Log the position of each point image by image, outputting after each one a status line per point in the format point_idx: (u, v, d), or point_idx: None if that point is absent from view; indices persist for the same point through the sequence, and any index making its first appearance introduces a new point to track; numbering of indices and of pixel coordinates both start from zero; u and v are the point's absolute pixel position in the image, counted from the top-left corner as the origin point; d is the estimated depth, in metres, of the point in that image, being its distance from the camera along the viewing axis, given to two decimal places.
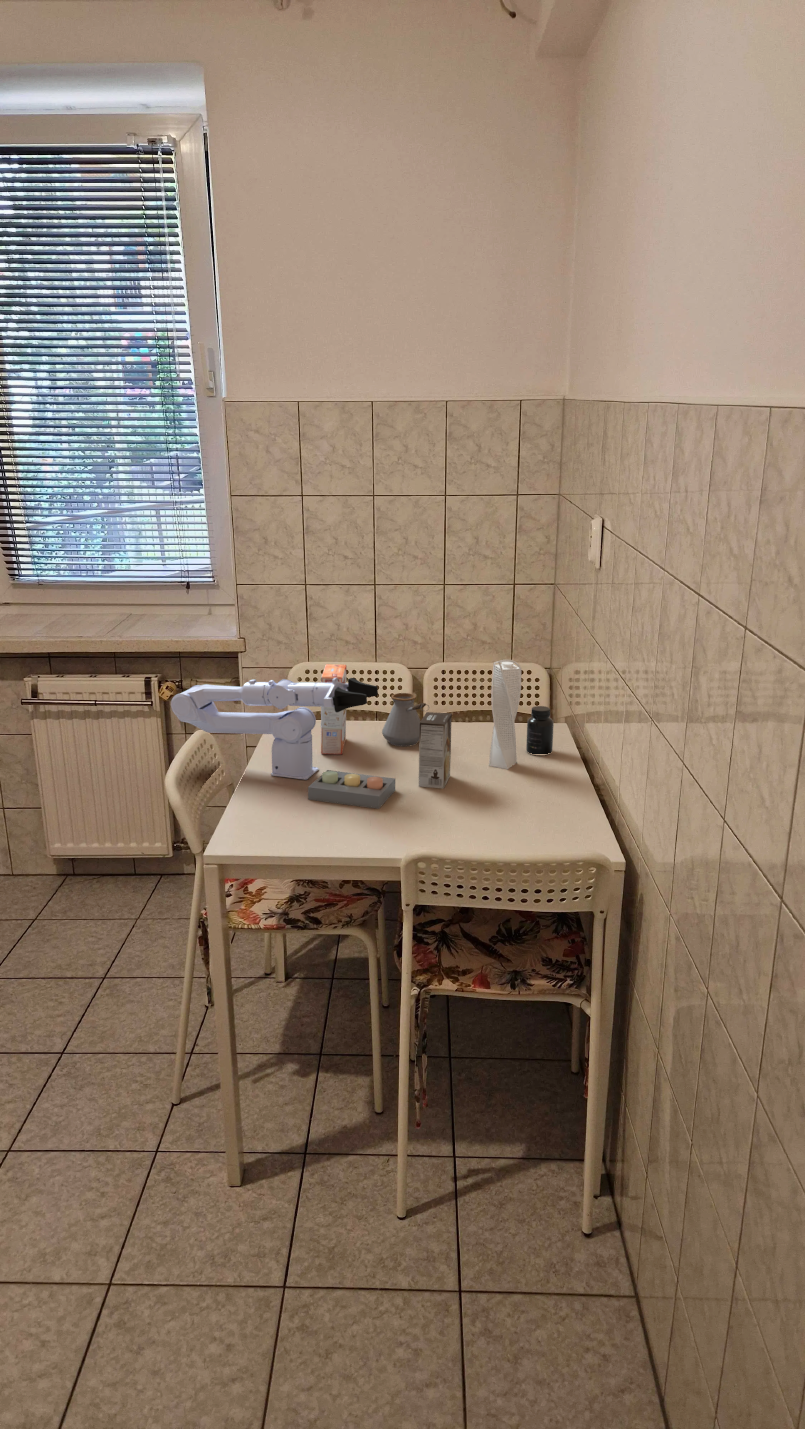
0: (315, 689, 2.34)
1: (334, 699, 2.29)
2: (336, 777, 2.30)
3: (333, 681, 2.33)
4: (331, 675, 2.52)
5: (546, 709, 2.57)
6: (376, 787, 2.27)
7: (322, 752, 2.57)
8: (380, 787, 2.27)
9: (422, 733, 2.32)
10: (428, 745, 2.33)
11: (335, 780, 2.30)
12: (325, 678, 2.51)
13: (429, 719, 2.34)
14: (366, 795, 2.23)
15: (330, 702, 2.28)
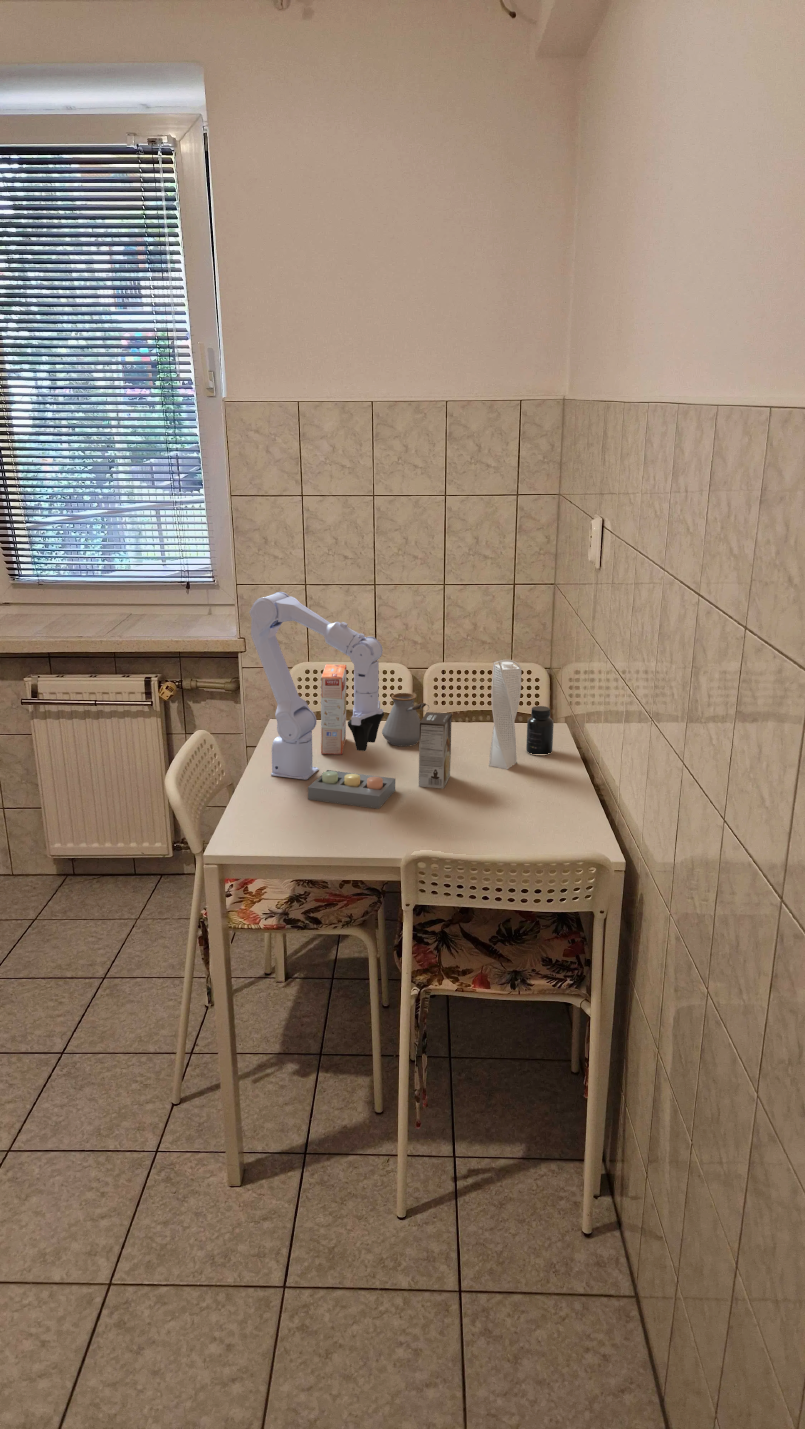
0: (370, 695, 2.29)
1: (360, 724, 2.28)
2: (336, 777, 2.30)
3: (378, 712, 2.31)
4: (331, 675, 2.52)
5: (546, 709, 2.57)
6: (376, 787, 2.27)
7: (322, 752, 2.57)
8: (380, 787, 2.27)
9: (422, 733, 2.32)
10: (428, 745, 2.33)
11: (335, 780, 2.30)
12: (325, 678, 2.51)
13: (429, 719, 2.34)
14: (366, 795, 2.23)
15: (355, 724, 2.26)
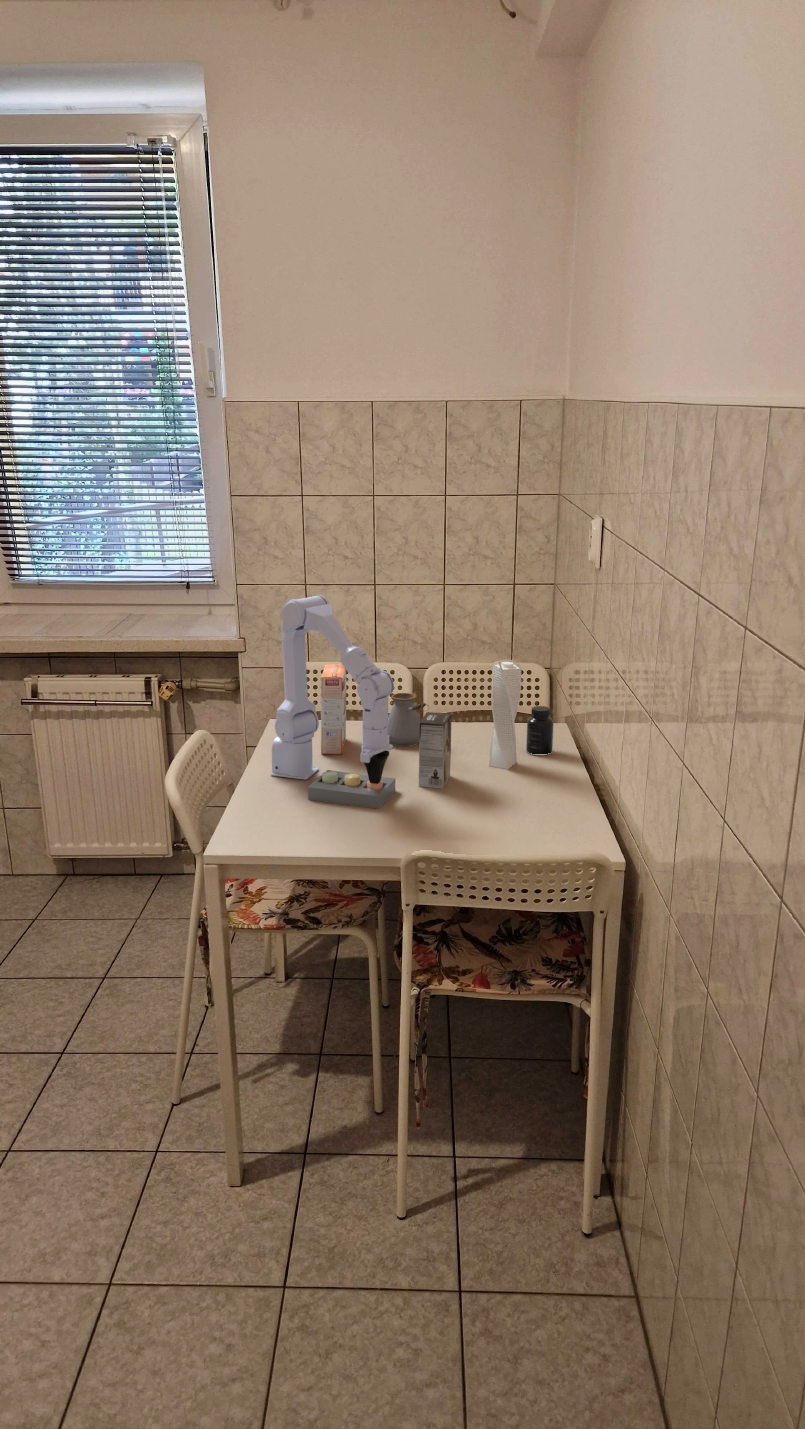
0: (379, 731, 2.22)
1: (373, 757, 2.24)
2: (336, 777, 2.30)
3: (388, 748, 2.24)
4: (331, 675, 2.52)
5: (546, 709, 2.57)
6: None
7: (322, 752, 2.57)
8: None
9: (422, 733, 2.32)
10: (428, 745, 2.33)
11: (335, 780, 2.30)
12: (325, 678, 2.51)
13: (429, 719, 2.34)
14: (366, 795, 2.23)
15: (364, 761, 2.19)
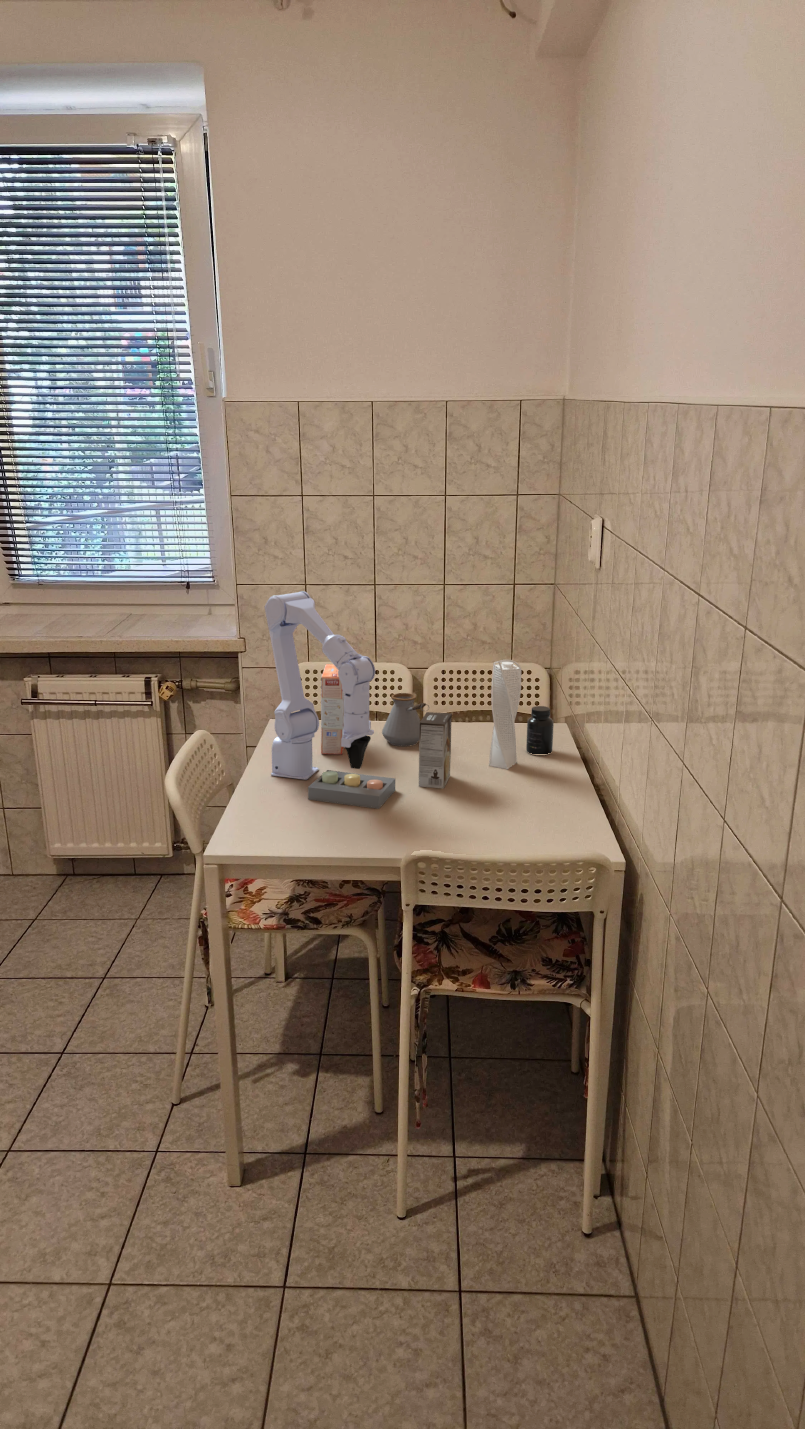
0: (360, 716, 2.22)
1: (354, 742, 2.24)
2: (336, 777, 2.30)
3: (369, 733, 2.24)
4: (331, 675, 2.52)
5: (546, 709, 2.57)
6: None
7: (322, 752, 2.57)
8: None
9: (422, 733, 2.32)
10: (428, 745, 2.33)
11: (335, 780, 2.30)
12: (325, 678, 2.51)
13: (429, 719, 2.34)
14: (366, 795, 2.23)
15: (345, 746, 2.20)
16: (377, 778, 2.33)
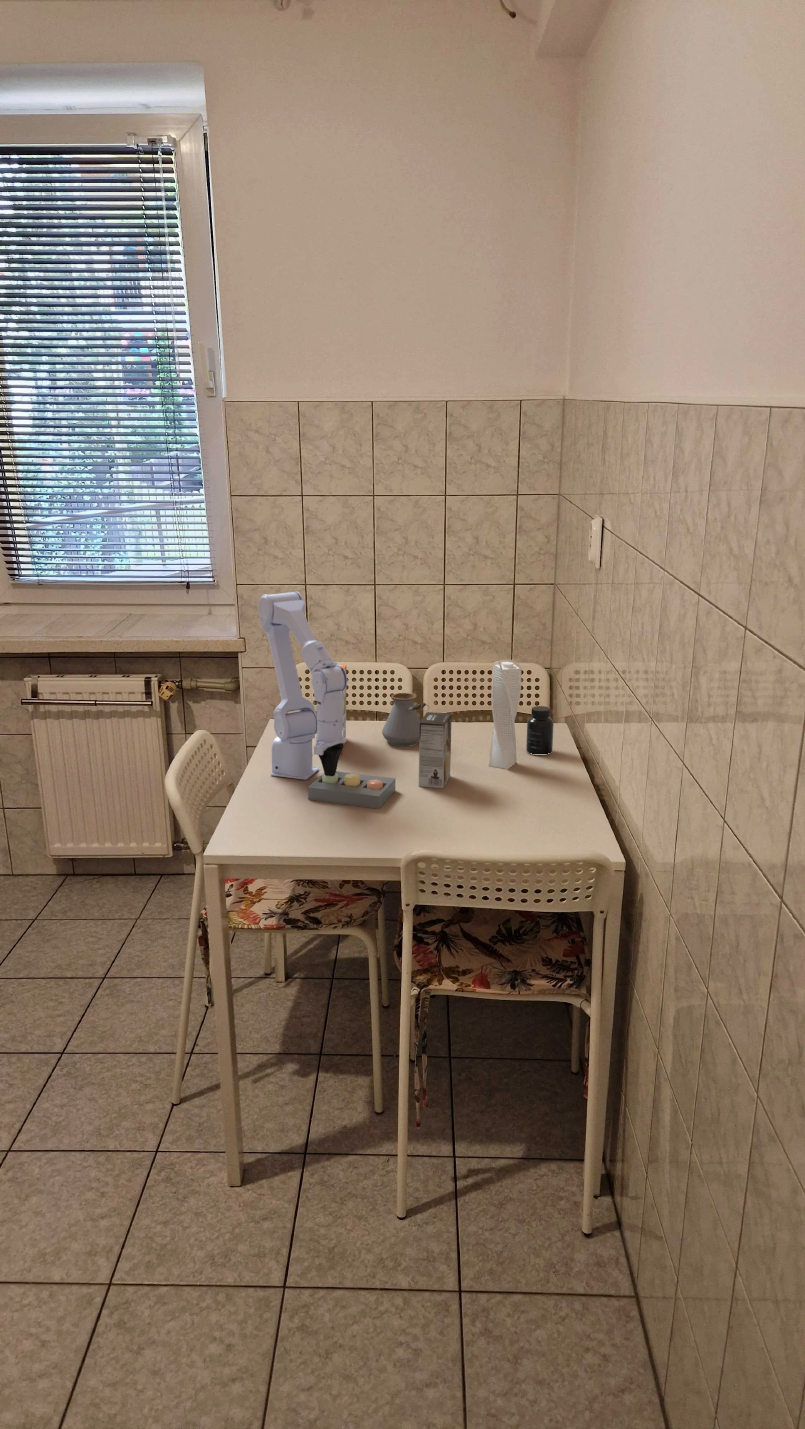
0: (333, 724, 2.25)
1: (327, 750, 2.26)
2: (336, 778, 2.30)
3: (342, 741, 2.27)
4: None
5: (546, 709, 2.57)
6: None
7: None
8: None
9: (422, 733, 2.32)
10: (428, 745, 2.33)
11: (335, 781, 2.30)
12: None
13: (429, 719, 2.34)
14: (366, 795, 2.23)
15: (318, 753, 2.22)
16: (377, 778, 2.33)
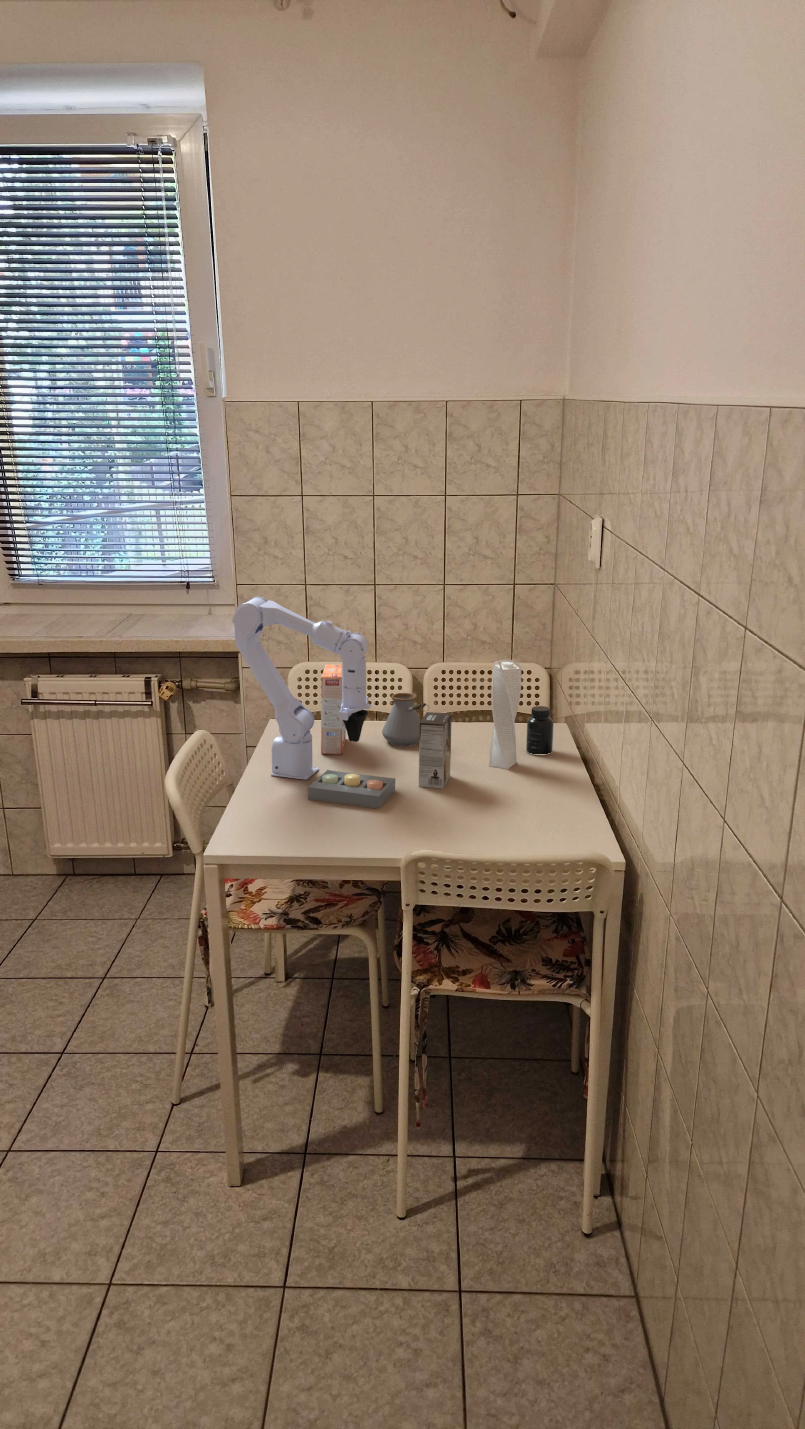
0: (358, 690, 2.33)
1: (352, 716, 2.34)
2: (336, 780, 2.31)
3: (366, 707, 2.34)
4: (331, 675, 2.52)
5: (546, 709, 2.57)
6: None
7: (322, 752, 2.57)
8: None
9: (422, 733, 2.32)
10: (428, 745, 2.33)
11: (335, 783, 2.30)
12: (325, 678, 2.51)
13: (429, 719, 2.34)
14: (366, 795, 2.23)
15: (343, 719, 2.30)
16: (377, 778, 2.33)
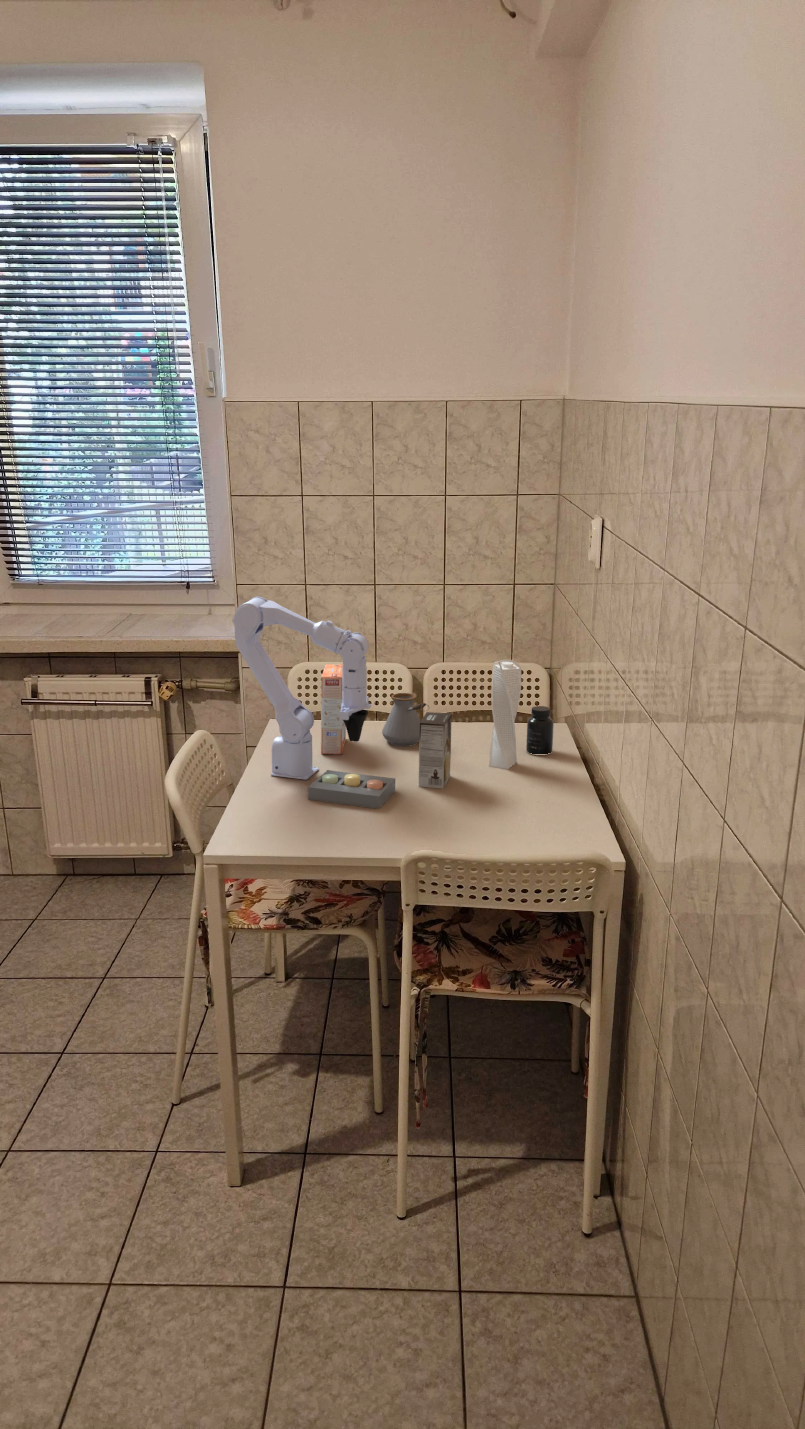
0: (358, 690, 2.33)
1: (352, 716, 2.34)
2: (336, 780, 2.31)
3: (366, 707, 2.35)
4: (331, 675, 2.52)
5: (546, 709, 2.57)
6: None
7: (322, 752, 2.57)
8: None
9: (422, 733, 2.32)
10: (428, 745, 2.33)
11: (335, 783, 2.30)
12: (325, 678, 2.51)
13: (429, 719, 2.34)
14: (366, 795, 2.23)
15: (344, 718, 2.30)
16: (377, 778, 2.33)
